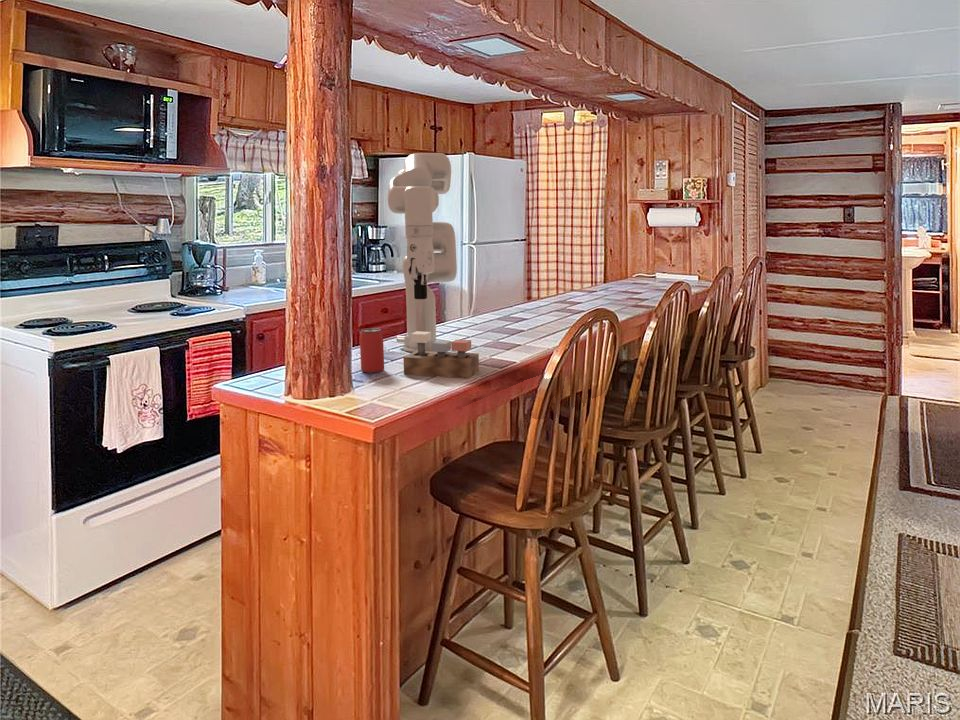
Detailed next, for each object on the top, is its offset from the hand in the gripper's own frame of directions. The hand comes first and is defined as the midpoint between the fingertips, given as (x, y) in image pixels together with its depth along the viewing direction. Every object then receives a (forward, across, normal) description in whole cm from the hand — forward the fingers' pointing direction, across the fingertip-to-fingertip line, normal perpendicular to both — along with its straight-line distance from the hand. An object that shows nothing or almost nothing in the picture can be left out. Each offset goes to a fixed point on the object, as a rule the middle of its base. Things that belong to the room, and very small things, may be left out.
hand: (420, 298), depth 201 cm
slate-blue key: (+20, 0, -6) cm, 20 cm away
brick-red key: (+19, 0, -12) cm, 22 cm away
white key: (+17, 0, 0) cm, 17 cm away
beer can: (+21, -3, +14) cm, 26 cm away
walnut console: (+21, 0, -6) cm, 22 cm away
